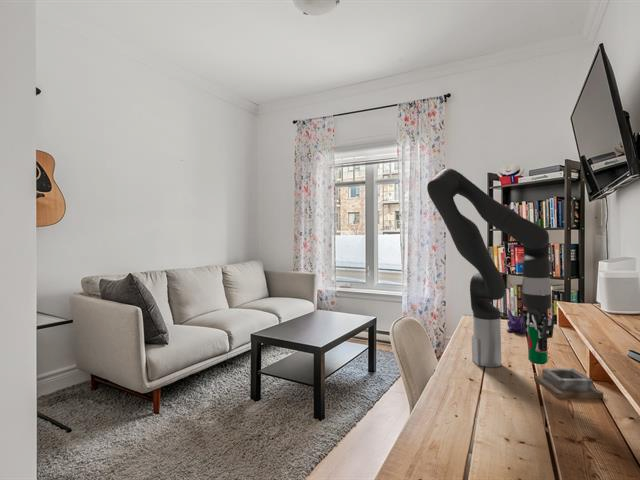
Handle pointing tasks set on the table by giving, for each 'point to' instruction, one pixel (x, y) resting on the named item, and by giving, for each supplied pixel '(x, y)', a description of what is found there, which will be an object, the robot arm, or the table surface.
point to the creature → (515, 323)
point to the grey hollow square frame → (567, 384)
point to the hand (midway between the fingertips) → (537, 347)
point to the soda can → (535, 346)
